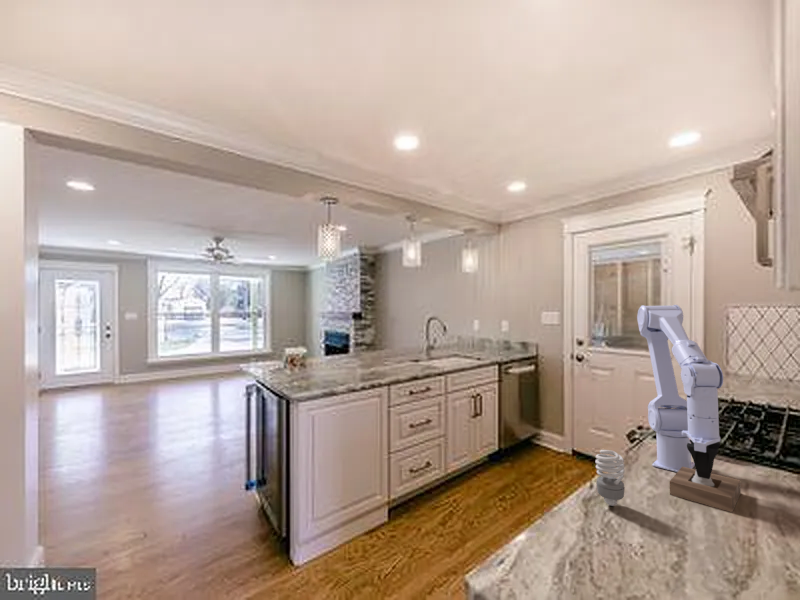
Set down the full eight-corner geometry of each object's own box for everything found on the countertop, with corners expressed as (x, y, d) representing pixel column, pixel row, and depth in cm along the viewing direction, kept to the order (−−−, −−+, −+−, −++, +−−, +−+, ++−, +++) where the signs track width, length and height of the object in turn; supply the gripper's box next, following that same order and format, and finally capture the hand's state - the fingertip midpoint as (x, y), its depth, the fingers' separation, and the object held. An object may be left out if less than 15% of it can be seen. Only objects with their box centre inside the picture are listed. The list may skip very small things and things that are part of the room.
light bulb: (590, 502, 86) (589, 448, 87) (608, 497, 88) (606, 444, 89) (613, 514, 81) (611, 456, 81) (631, 509, 83) (630, 452, 84)
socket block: (682, 478, 98) (682, 466, 98) (740, 493, 89) (740, 480, 90) (669, 494, 89) (669, 481, 89) (732, 512, 81) (731, 497, 81)
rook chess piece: (720, 494, 87) (718, 458, 87) (698, 493, 88) (697, 457, 88) (707, 485, 92) (706, 451, 92) (686, 484, 92) (685, 450, 92)
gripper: (685, 406, 98) (687, 461, 98) (676, 419, 87) (678, 480, 87) (721, 411, 93) (723, 468, 93) (717, 425, 82) (719, 489, 82)
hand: (704, 474), depth 89 cm, fingers closed on rook chess piece, 3 cm apart
